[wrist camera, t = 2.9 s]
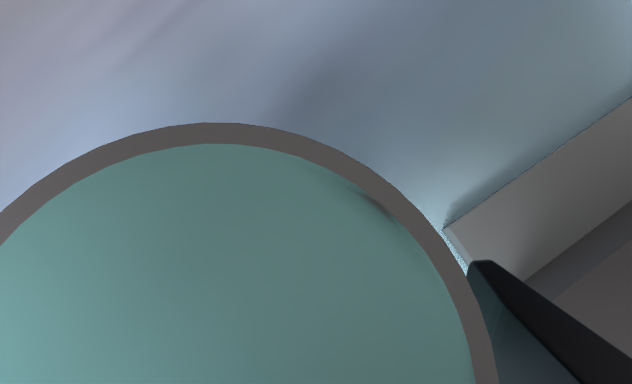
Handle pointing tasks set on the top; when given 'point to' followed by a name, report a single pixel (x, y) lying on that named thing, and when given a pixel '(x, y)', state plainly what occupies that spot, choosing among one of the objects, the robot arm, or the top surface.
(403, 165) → the top surface
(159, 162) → the teal cylinder
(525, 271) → the holder board
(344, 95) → the top surface
